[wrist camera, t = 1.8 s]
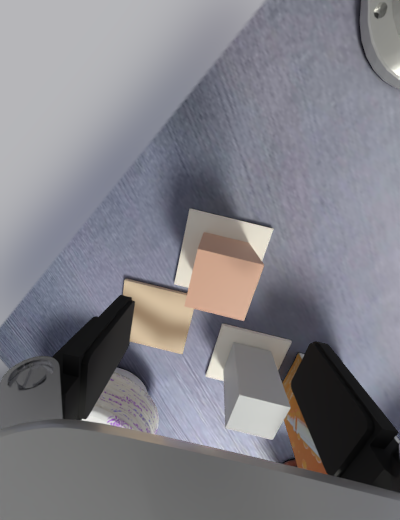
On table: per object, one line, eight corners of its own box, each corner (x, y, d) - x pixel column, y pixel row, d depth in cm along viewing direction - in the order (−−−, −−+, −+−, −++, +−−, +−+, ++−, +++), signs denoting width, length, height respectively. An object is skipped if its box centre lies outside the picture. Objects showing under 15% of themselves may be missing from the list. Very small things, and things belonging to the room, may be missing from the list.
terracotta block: (203, 231, 21) (197, 248, 14) (249, 242, 21) (264, 265, 14) (193, 273, 22) (184, 306, 16) (235, 283, 22) (244, 320, 16)
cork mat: (126, 278, 24) (124, 280, 23) (197, 295, 24) (196, 297, 23) (119, 335, 27) (118, 338, 26) (182, 351, 27) (182, 354, 26)
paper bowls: (51, 364, 30) (-5, 421, 22) (136, 339, 27) (105, 395, 19) (102, 429, 34) (69, 496, 26) (180, 413, 31) (169, 483, 23)
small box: (297, 350, 25) (374, 499, 13) (344, 363, 25) (465, 523, 13) (274, 393, 28) (319, 550, 16) (316, 404, 28) (396, 570, 16)
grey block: (233, 341, 25) (239, 394, 18) (271, 351, 25) (290, 407, 18) (223, 370, 27) (225, 428, 20) (258, 379, 27) (272, 440, 20)
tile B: (222, 323, 25) (222, 325, 24) (290, 339, 25) (292, 342, 24) (205, 374, 28) (205, 377, 27) (267, 389, 28) (267, 392, 27)
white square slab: (190, 208, 21) (189, 208, 20) (272, 228, 20) (273, 229, 20) (174, 282, 23) (173, 284, 23) (246, 300, 23) (247, 302, 23)
